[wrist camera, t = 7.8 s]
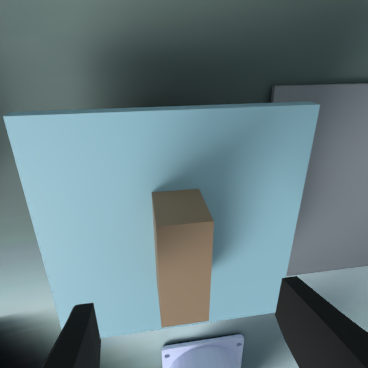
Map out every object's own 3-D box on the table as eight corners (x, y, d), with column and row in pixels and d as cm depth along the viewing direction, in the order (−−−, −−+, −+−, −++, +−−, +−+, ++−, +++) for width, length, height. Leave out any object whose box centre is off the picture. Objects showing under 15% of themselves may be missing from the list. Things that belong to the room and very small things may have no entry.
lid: (273, 302, 21) (301, 353, 17) (68, 331, 19) (54, 395, 15) (311, 101, 15) (365, 119, 11) (10, 112, 13) (-34, 138, 9)
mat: (410, 256, 28) (413, 259, 27) (249, 277, 26) (250, 280, 25) (485, 79, 21) (491, 79, 20) (272, 85, 19) (275, 86, 18)
